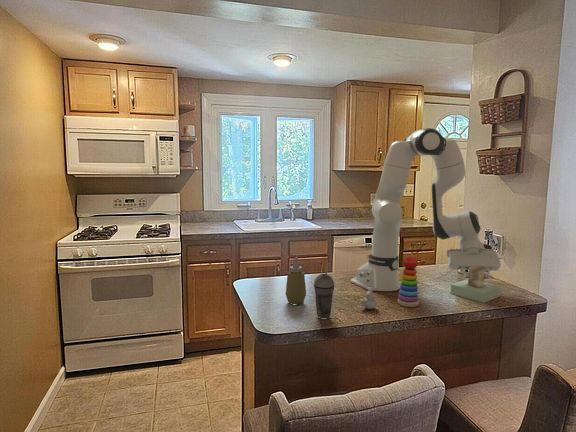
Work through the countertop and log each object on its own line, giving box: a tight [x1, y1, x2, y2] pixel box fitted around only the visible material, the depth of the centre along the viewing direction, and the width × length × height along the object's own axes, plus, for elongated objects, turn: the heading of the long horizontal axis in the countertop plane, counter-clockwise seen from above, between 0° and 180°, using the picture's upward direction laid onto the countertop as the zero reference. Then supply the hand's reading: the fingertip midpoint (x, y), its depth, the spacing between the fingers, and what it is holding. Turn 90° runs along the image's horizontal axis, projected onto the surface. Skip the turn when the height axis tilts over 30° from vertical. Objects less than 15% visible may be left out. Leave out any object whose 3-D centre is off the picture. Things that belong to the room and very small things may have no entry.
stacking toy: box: [397, 256, 420, 308], centre depth 151 cm, size 8×8×19 cm
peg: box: [467, 267, 486, 289], centre depth 162 cm, size 4×4×10 cm
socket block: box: [450, 278, 502, 304], centre depth 163 cm, size 14×14×4 cm
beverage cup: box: [313, 261, 335, 319], centre depth 137 cm, size 7×7×20 cm
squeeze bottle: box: [285, 257, 307, 305], centre depth 151 cm, size 8×8×18 cm
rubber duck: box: [360, 289, 378, 310], centre depth 146 cm, size 5×7×8 cm
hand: (476, 277), depth 162 cm, fingers closed on peg, 6 cm apart
